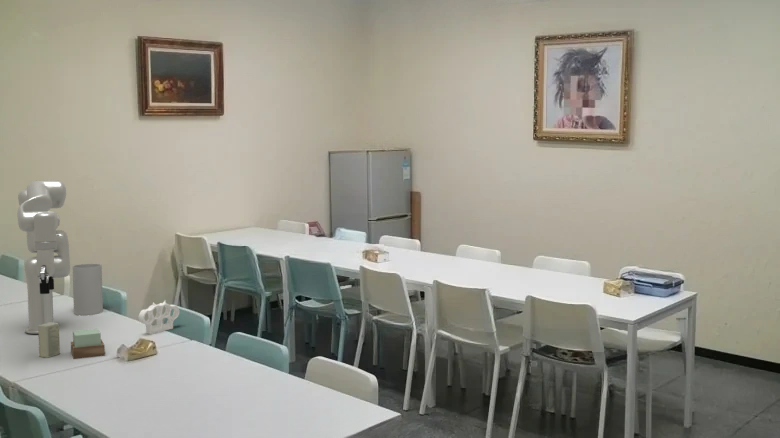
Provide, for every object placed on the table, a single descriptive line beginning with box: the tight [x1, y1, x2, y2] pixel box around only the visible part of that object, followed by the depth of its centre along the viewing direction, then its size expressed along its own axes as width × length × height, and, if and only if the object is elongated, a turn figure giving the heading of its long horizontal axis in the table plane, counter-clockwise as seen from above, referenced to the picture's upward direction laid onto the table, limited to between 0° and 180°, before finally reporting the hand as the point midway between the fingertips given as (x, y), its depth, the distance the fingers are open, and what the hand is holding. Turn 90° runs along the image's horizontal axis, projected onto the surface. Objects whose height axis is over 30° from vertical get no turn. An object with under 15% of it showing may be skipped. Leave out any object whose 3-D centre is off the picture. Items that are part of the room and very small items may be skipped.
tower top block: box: [72, 328, 102, 348], centre depth 289 cm, size 9×9×4 cm
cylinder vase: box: [72, 263, 104, 317], centre depth 350 cm, size 12×12×25 cm
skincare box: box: [38, 321, 61, 358], centre depth 286 cm, size 6×4×12 cm
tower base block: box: [70, 339, 106, 360], centre depth 289 cm, size 11×11×4 cm
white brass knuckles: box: [138, 300, 180, 335], centre depth 320 cm, size 3×18×15 cm, turn 142°
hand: (47, 291), depth 283 cm, fingers open, 9 cm apart
